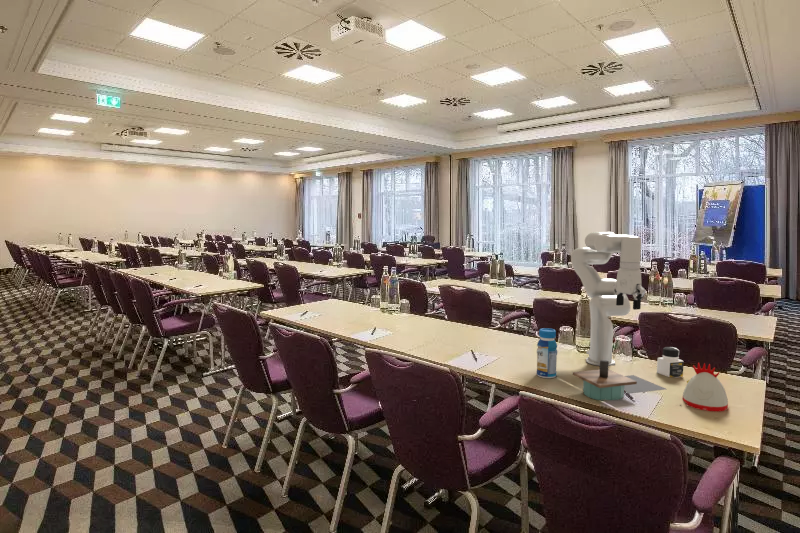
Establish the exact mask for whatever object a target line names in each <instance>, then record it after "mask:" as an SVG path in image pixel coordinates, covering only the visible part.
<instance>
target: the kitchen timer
mask: <svg viewBox="0 0 800 533" xmlns="http://www.w3.org/2000/svg"><path fill="white" fill-rule="evenodd" d="M692 368H693V370H694V372H695V374H694V375H693V376H692V377H691V378H690V379H688V380H686V385H685V388H684V390H683V392H682V401H683V402H684V403H685V405H686V406H688V407H691V408H693V409H698V410H701V411H706V412H725V411H727V410H728V408H729V401H728V396H727V393H726V390H725V387H724V385H723V383H722V382H721V381H720V379H719V378H718V376H719V375H720V371H718V372H717V373H715V370H716V367H713V368H712V369H711V364H710V363H709V364H708V366H707V368H706V363H705V362H704V363H703V366H702V368H701V365H700V362H697V367H696V366H695V365H694V364H693V365H692Z"/></svg>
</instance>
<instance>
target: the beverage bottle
mask: <svg viewBox="0 0 800 533" xmlns="http://www.w3.org/2000/svg"><path fill="white" fill-rule="evenodd" d="M538 332H539V333H538V336H539V340H538V341H537V344H536V347H537V348H536V375H537V376H538V377H539V378H543V379H554V378H556V377H557V359H558V358H557V357H558V349H557V348H558V342H556V340H555V339H556V337H557V331H556V329H553V328H547V327H546V328H545V327H543V328H540V329H539V331H538Z"/></svg>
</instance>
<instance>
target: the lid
mask: <svg viewBox="0 0 800 533" xmlns="http://www.w3.org/2000/svg"><path fill="white" fill-rule="evenodd" d="M608 364H609V361H606V360H600V366H599V369H592V370H580V371H572V373H571V374H572V376H574V377H576V378H578V379H581V380H582V381H583V380H584V381H586V382H588V383H590V384H592V385H594V386H596V387H598V388H605V387H614V386H623V385H632V384H637V381H635V380H632V379H630V378H628V377H625V376H626V375H623V374H621V373H619V372H616V371H614V370H611V369H609V366H608Z"/></svg>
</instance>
